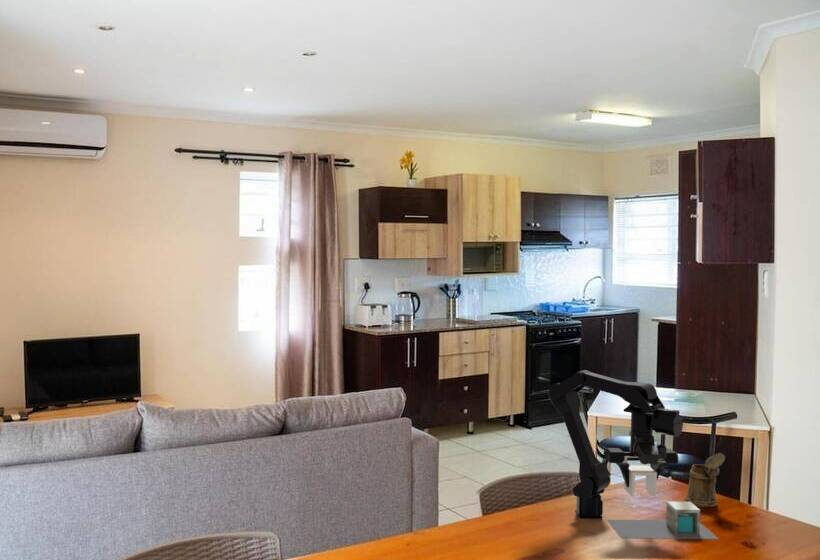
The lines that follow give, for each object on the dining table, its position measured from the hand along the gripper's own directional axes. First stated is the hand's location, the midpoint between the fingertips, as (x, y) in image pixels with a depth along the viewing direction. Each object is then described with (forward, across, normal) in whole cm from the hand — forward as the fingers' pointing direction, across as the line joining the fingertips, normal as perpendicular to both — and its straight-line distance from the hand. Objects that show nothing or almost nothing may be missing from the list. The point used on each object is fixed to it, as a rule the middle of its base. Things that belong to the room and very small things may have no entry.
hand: (640, 487), depth 206 cm
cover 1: (+2, 0, 0) cm, 2 cm away
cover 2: (+12, +12, 0) cm, 17 cm away
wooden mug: (+12, +27, +21) cm, 36 cm away
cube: (+12, +12, 0) cm, 17 cm away
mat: (+12, +6, 0) cm, 13 cm away
